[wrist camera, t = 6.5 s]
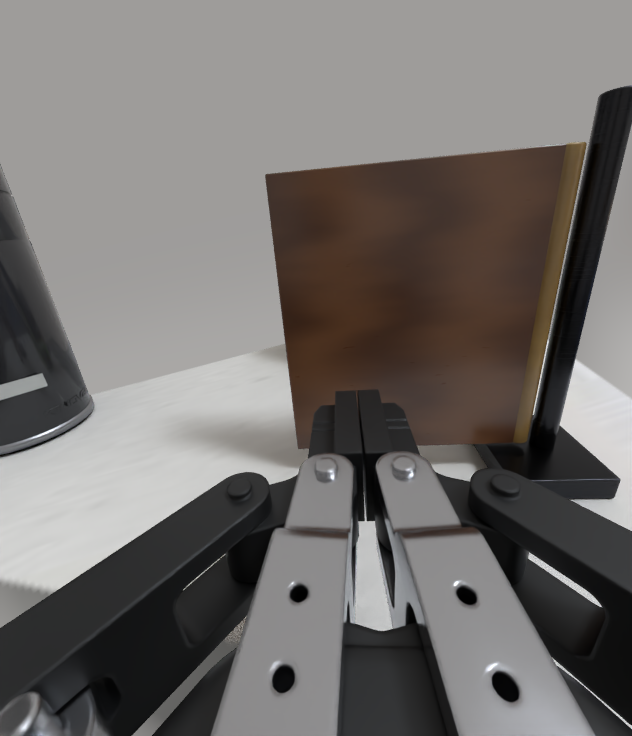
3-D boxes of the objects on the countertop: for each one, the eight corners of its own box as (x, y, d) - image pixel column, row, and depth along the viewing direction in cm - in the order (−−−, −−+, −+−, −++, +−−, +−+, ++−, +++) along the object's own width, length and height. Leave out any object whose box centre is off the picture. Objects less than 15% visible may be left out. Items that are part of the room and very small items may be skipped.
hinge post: (508, 500, 17) (590, 64, 10) (465, 432, 22) (500, 123, 15) (614, 498, 16) (774, 43, 10) (544, 430, 22) (614, 111, 15)
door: (297, 450, 19) (264, 173, 14) (300, 438, 20) (269, 177, 15) (531, 443, 18) (594, 139, 13) (520, 431, 19) (573, 147, 14)
